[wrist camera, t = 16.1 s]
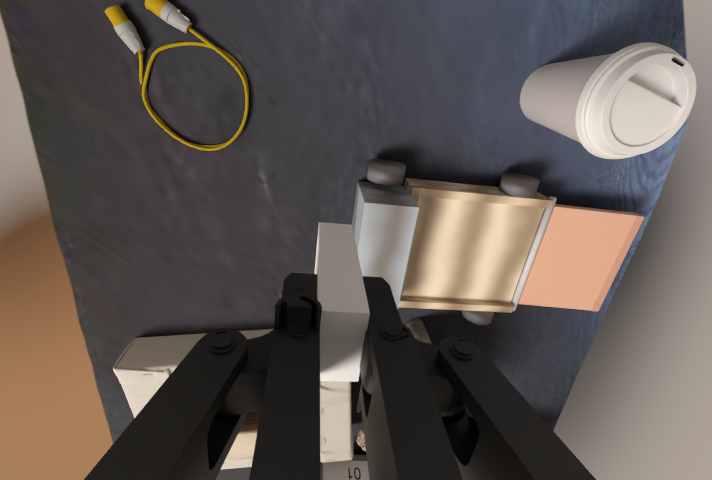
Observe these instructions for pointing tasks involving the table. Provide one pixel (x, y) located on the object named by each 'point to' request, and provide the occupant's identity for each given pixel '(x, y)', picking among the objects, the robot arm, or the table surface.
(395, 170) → the truck bed
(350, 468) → the organizer tray
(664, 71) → the coffee cup
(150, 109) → the extension cord
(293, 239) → the table surface
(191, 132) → the table surface
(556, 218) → the tailgate
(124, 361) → the box
